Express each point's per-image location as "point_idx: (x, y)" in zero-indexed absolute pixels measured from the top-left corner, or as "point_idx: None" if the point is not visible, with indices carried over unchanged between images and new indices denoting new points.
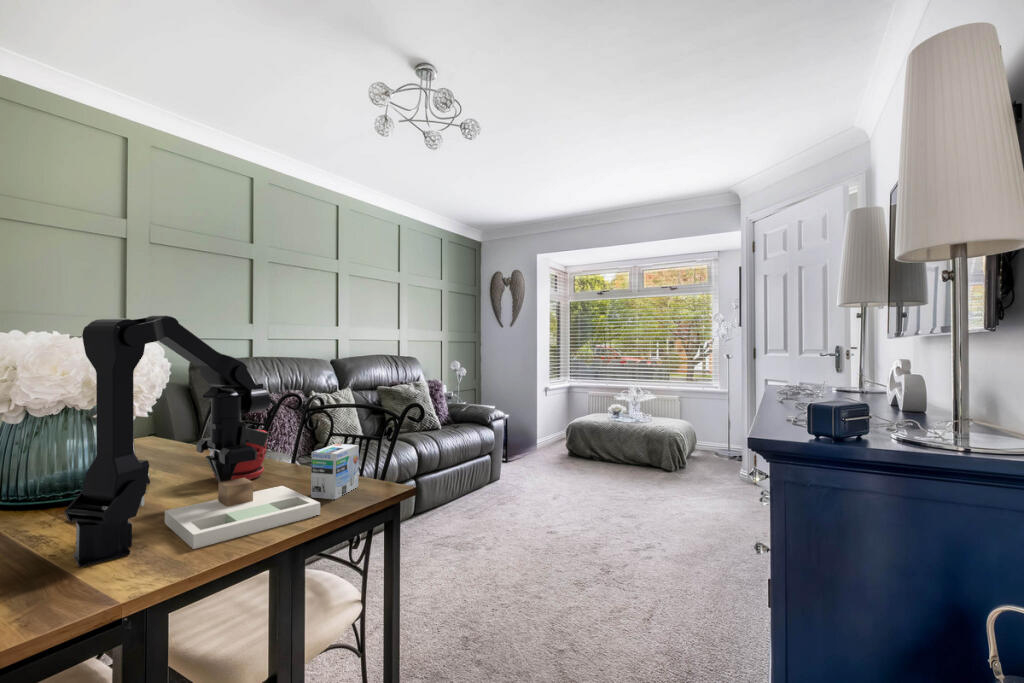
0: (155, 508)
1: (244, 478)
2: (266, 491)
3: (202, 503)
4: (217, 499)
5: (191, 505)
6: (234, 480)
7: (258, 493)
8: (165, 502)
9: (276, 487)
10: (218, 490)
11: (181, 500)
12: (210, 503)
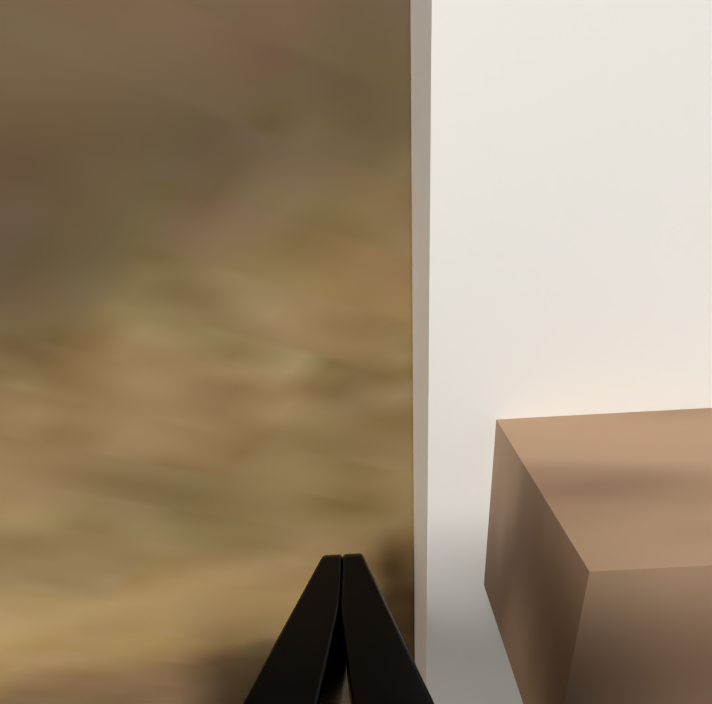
0: (114, 694)
1: (652, 581)
2: (530, 196)
3: (449, 654)
4: (431, 579)
5: (441, 697)
6: (633, 678)
7: (533, 292)
8: (13, 655)
9: (459, 15)
10: (519, 678)
11: (13, 599)
12: (491, 624)
